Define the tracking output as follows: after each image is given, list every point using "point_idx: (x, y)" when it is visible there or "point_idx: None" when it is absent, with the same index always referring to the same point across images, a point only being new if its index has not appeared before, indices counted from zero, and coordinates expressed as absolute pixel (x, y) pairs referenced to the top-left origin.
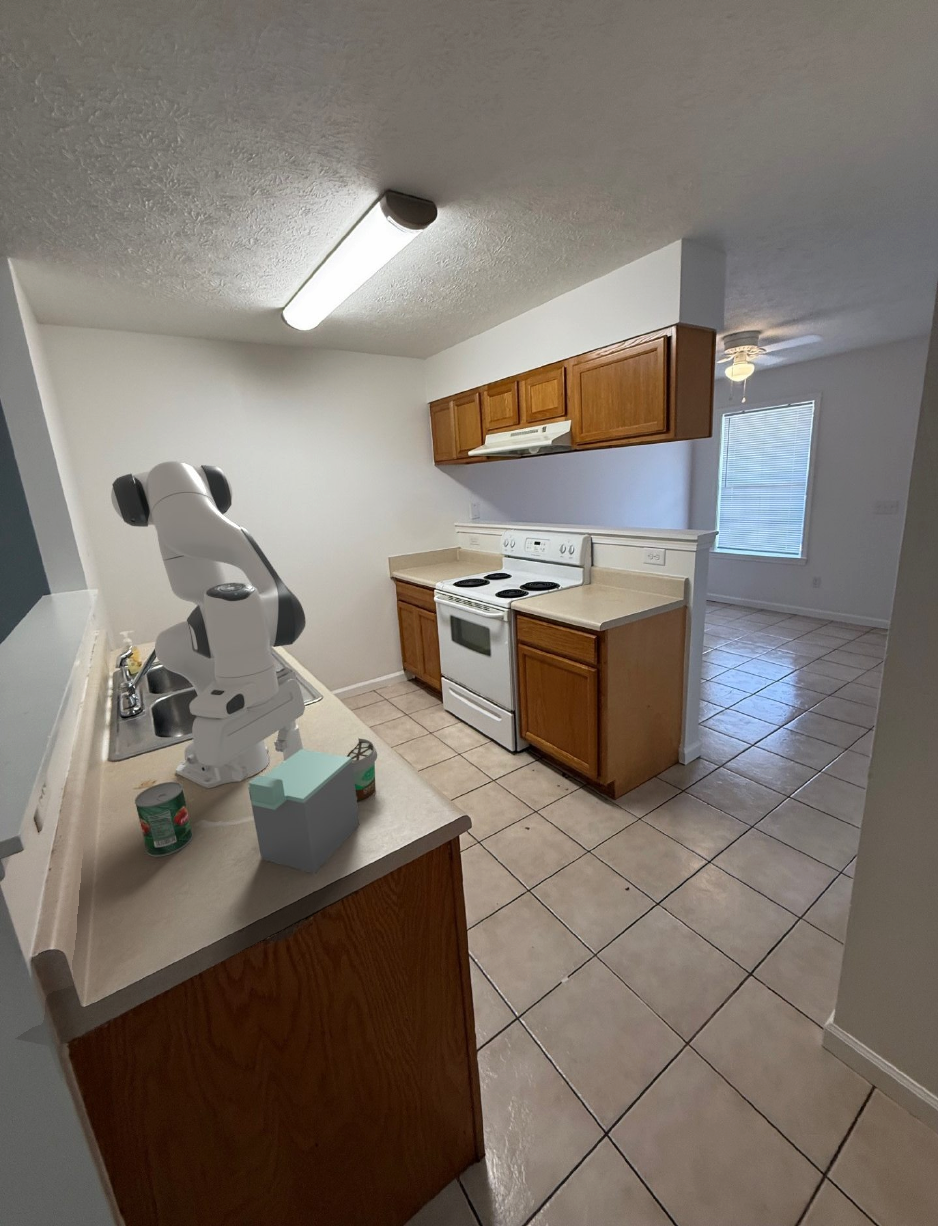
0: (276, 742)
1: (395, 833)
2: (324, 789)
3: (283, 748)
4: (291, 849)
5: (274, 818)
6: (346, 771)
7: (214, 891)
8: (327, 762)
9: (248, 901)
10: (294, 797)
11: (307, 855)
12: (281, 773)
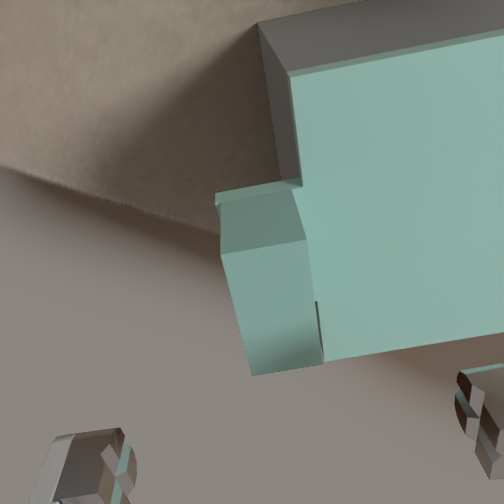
0: (496, 442)
1: None
2: None
3: (469, 436)
4: (282, 171)
5: (288, 164)
6: None
7: (97, 14)
8: None
9: (141, 140)
10: (320, 330)
11: None
12: (468, 131)
